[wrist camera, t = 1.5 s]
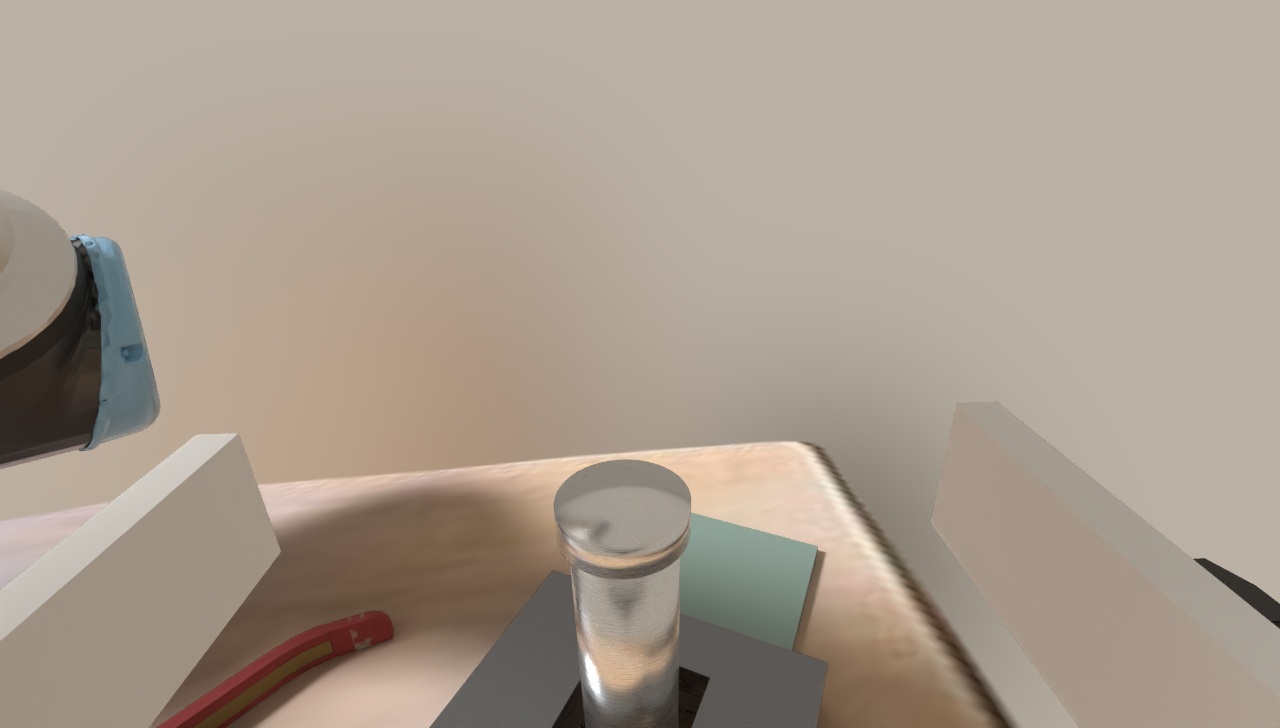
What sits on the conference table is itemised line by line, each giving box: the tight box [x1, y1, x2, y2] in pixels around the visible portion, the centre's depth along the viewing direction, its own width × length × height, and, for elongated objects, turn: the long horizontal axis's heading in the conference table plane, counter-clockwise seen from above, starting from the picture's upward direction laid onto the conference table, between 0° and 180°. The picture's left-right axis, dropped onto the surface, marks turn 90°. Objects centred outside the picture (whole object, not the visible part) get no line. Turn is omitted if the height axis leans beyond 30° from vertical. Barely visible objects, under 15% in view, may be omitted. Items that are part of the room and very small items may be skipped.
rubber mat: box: [680, 513, 818, 650], centre depth 39 cm, size 12×10×1 cm
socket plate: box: [430, 570, 828, 728], centre depth 28 cm, size 16×12×3 cm
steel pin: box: [554, 460, 691, 728], centre depth 26 cm, size 5×5×15 cm
